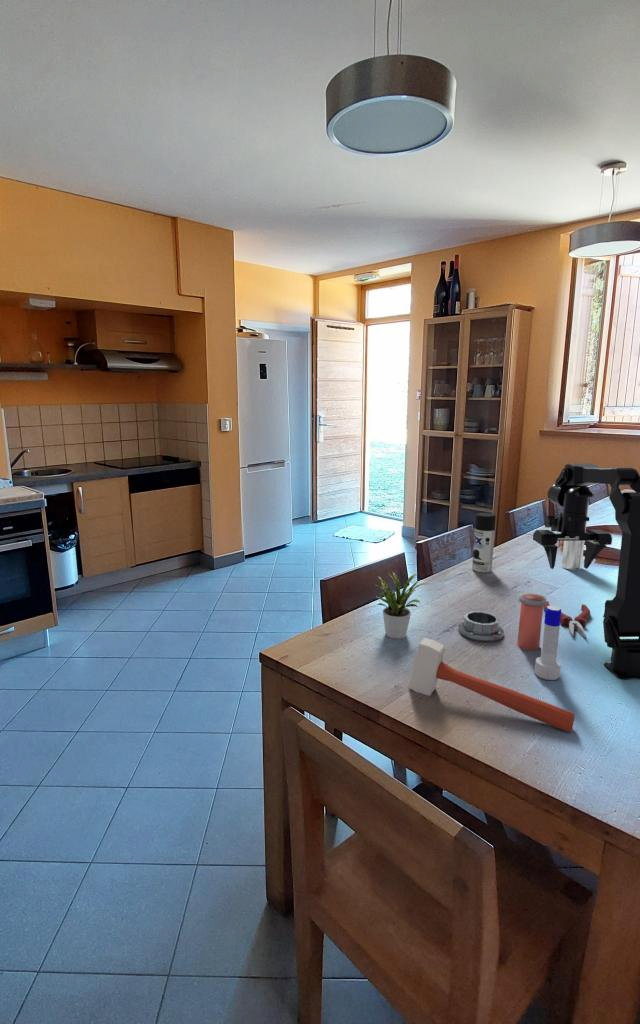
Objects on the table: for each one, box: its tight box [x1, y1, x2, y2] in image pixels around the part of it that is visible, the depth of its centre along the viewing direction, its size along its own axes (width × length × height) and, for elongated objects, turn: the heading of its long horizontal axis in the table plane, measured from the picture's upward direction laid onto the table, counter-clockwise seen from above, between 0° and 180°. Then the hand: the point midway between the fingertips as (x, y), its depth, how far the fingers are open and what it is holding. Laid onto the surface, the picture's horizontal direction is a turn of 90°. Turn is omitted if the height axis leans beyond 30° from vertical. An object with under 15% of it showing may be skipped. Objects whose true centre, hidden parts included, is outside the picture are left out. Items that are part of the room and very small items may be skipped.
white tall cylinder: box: [561, 501, 590, 571], centre depth 187 cm, size 6×6×25 cm
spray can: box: [471, 512, 496, 574], centre depth 185 cm, size 7×7×20 cm
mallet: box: [408, 637, 576, 733], centre depth 104 cm, size 11×4×30 cm
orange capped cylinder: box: [516, 592, 547, 651], centre depth 129 cm, size 6×6×12 cm
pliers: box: [543, 600, 591, 639], centre depth 143 cm, size 12×21×3 cm, turn 166°
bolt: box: [534, 605, 562, 681], centre depth 115 cm, size 16×5×5 cm
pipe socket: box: [457, 610, 505, 643], centre depth 137 cm, size 11×11×4 cm
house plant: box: [376, 571, 429, 640], centre depth 135 cm, size 14×14×16 cm
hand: (568, 568), depth 142 cm, fingers open, 9 cm apart
